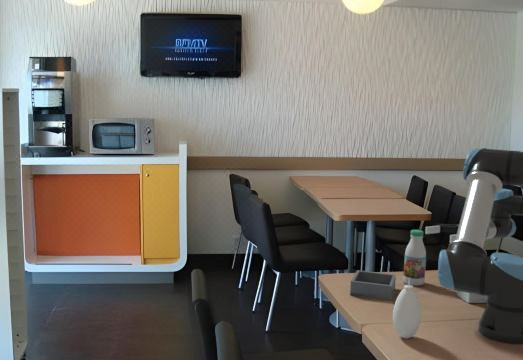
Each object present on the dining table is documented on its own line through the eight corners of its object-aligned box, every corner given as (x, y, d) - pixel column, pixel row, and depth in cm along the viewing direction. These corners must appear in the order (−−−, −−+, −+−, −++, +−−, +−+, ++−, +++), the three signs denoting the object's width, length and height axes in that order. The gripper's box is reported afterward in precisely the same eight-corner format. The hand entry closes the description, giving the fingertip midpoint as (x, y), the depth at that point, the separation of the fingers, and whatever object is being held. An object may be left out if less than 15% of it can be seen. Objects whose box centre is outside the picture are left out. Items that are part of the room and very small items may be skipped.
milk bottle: (402, 279, 225) (405, 227, 222) (422, 280, 224) (426, 229, 221) (404, 285, 218) (407, 232, 215) (425, 286, 217) (429, 233, 214)
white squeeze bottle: (390, 330, 175) (393, 272, 172) (417, 332, 174) (421, 273, 172) (393, 341, 167) (397, 280, 165) (421, 343, 166) (425, 282, 164)
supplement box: (492, 303, 202) (496, 260, 199) (468, 303, 200) (471, 261, 198) (479, 294, 210) (482, 253, 208) (455, 294, 209) (458, 253, 207)
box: (391, 300, 201) (391, 286, 200) (350, 295, 205) (350, 281, 205) (394, 288, 214) (395, 274, 214) (356, 283, 218) (357, 270, 218)
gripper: (504, 247, 221) (460, 252, 212) (457, 232, 243) (416, 236, 235) (506, 227, 220) (462, 232, 211) (459, 214, 242) (417, 217, 233)
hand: (437, 234), depth 223 cm, fingers open, 13 cm apart
